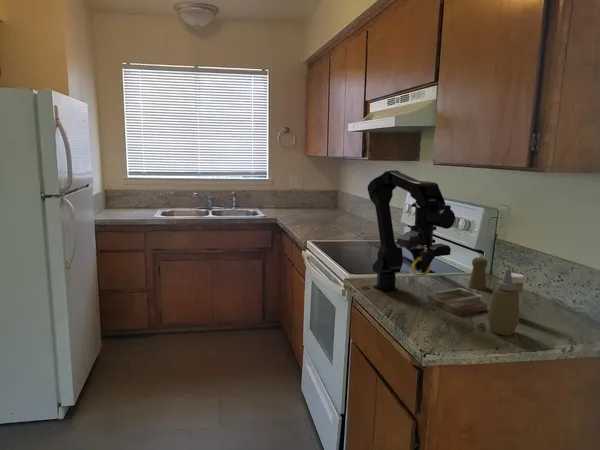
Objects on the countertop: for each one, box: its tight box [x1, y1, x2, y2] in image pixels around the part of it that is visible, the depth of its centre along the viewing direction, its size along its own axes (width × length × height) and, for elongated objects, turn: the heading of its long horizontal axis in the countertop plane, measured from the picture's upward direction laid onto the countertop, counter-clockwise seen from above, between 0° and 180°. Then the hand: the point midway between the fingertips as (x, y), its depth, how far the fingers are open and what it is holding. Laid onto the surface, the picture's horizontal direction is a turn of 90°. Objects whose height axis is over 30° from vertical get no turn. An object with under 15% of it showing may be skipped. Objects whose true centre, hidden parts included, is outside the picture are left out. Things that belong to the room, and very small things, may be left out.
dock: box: [428, 287, 488, 317], centre depth 144 cm, size 13×12×4 cm
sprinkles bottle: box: [511, 272, 525, 319], centre depth 135 cm, size 5×5×13 cm
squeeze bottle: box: [487, 268, 520, 337], centre depth 124 cm, size 8×8×18 cm
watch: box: [411, 256, 431, 277], centre depth 142 cm, size 6×3×6 cm, turn 104°
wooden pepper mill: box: [468, 257, 488, 291], centre depth 163 cm, size 6×6×11 cm
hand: (420, 271), depth 142 cm, fingers closed on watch, 2 cm apart
